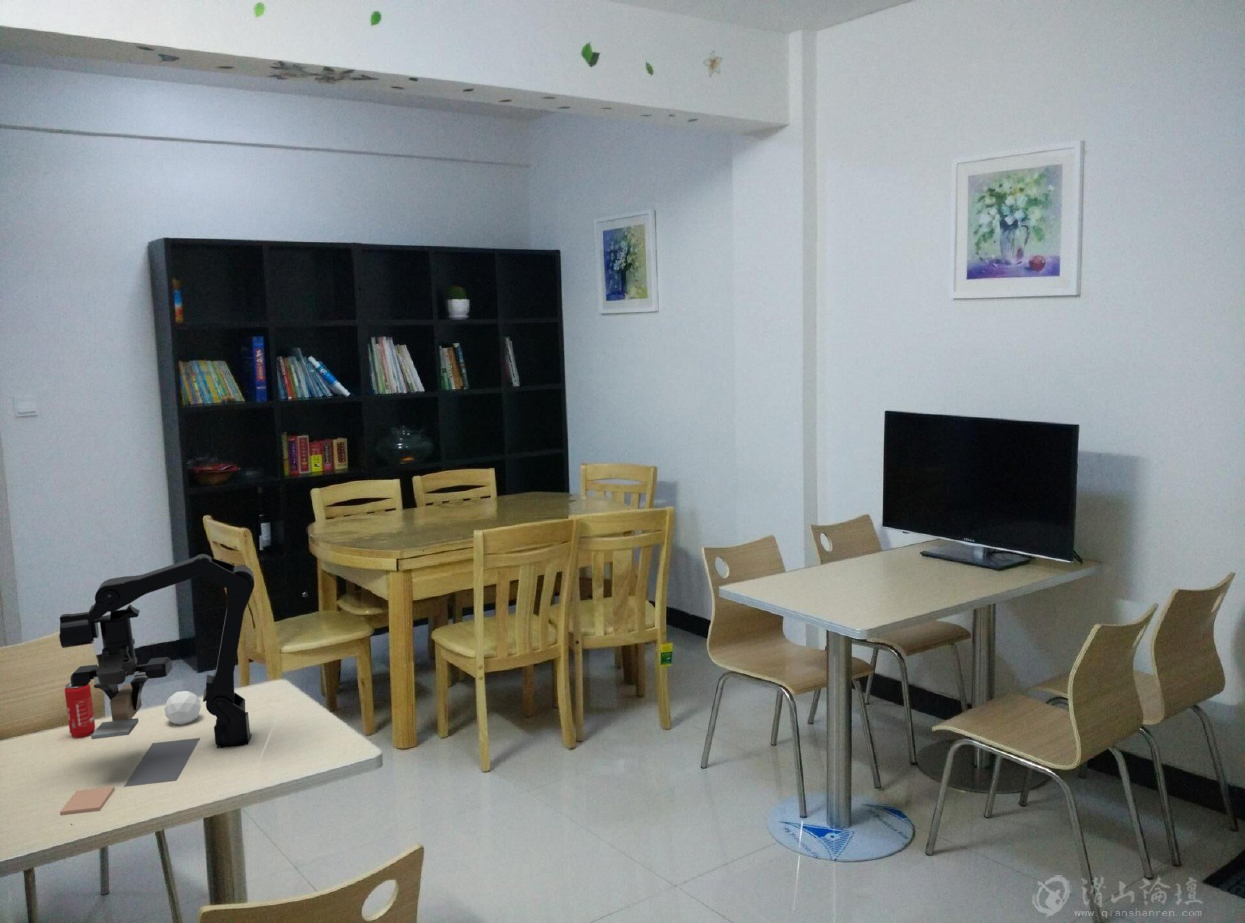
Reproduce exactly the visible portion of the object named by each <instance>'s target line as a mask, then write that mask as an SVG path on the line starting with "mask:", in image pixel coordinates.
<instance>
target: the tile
mask: <svg viewBox="0 0 1245 923" xmlns="http://www.w3.org/2000/svg"><path fill="white" fill-rule="evenodd" d="M115 789H116V788H115V786H104V787H97V788H89V789H88V788H87V789H77V790H75V792H74V793H73V795H72V796H71V797H70V798H69V800H68V801H67V802H66V804H64V806H63V808H61V810H60V816H65V815H73V814H81V813H83V814H84V813H91V812H98V811H99V812H100V811H101V809H103V807H104V805H105V804H106V803H107V802H108V800H109V799H110V797H111V796H112V794H113V793H114V792H115Z"/></svg>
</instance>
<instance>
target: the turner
mask: <svg viewBox="0 0 1245 923" xmlns="http://www.w3.org/2000/svg"><path fill="white" fill-rule="evenodd" d="M141 696H142V695H141ZM141 696H140V700H139V704H138V708H137V710H134V707H133V694H132V686H131V684H124V685H123V686H122V687H121V688H120V689H119V692H118V693H117V694H116V695H115V696H114V698H113V699H112V700H111V701H110V700H109V704H110V705H109V706H110V714H111V720H112V721H104V722H103V721H102V722H101V723H100V724H99V726H98V727H97V728H95V729H94V733H93V734H92V735H90V736H91V740H98V739H105V738H106V739H107V738H115V737H122V736H129V735H130V734H131V732H132V731H133V730H134V729H135V727H136V726H137V725H138V723H139V717H136V718H135V715H136V714H137V713H138V711H139V710H140V709H141V707H142V706H143V704H142V697H141Z"/></svg>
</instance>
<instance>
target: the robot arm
mask: <svg viewBox="0 0 1245 923" xmlns="http://www.w3.org/2000/svg"><path fill="white" fill-rule="evenodd" d="M197 577H202V578H205V579H207V580H209V581H211V582H213V583H214V584H216V585H218V586H220V587H222V588H225V592H226V593H225V600H226V602H225V603H226V611H225V616H224V622H223V623H224V624H223V627H222V628H223V629H222V633H221V640H220V646H219V651H218V652H219V654H218V657H217V664H216V669H215V670H214V673H213V675H212V674H211V675H210V674H206V679H205V680H206V681H205V688H204V690H203V697H202V702H203V703H204V702H205V707H206V710H207V711H208V712H209V714H211V715H212V716H215V717H216V719H215V724H214V727H213V731H214V732H213V733H214V742H215V745H216V749H224V748H233V747H242V746H247V745H249V742H250V741H251V738H252V736H253V733H251V727H250V720H249V712H248V711H246V699H245V698H244V697H242V696H241V695H240V694H238V693H237V692H235V667H236V663H237V658H238V649H239V644H240V639H241V638H240V637H241V632H242V626H243V620H244V615H245V611H246V608H247V607H248V604H249V601H250V599H251V597H252V594H253V591H254V590H255V589H254V588H255V574H254V572H253V570H252V569H251V568H250V567H248V566H246V565H244V564H240V565H234V564H232V563H230V562H227V561H224V560H220V559H217V558H214V557H211V556H210V555H208V554H205V553H201V554H198V555H196V556H195V557H194V556H193V557H191V558H189V559H185V560H182V561H180V562H176V563H173V564H170V565H168V566H163V567H161V568H157V569H156V570H152V571H149V572H145V573H144V574H137V575H127V576H119V577H114V578H108V579H106V580H104V581H103V582H102V583H101V584H100V585H99V587H98V589H97V591H96V593H95V594H94V601H95V603H94V604H92V605H91V606H90V609H89V610H88V611H84V612H79V613H78V612H77V613H76V612H75V613H63V614H61V615H60V617H59V634H58V637H59V643H60V646H61V648H62V649H65V648H73V647H79V646H85V645H86V646H87V645H93V644H94V641H95V639H99V635H100V632H101V640H102V641H101V642H102V647H103V648H102V649H101V661H100V662H99V665H98V664H90V665H81V666H79V667H78V668H77V669H76V670H74V672H73V673H72V674H71V675H70V678H69V679H70V683H71V687H81V686H87V685H88V684H90V683H91V682H92V680H94V685H93V688H94V689H100V690H101V691H103V692H104V694H105V695H106V696H107V697H108V699H109V702H110V701H111V700H112V699H113V698H114V696H115V695H116V694H117V693H118V692H119V691H120V689H119V686H118V685H121V684H123V683H125V682H126V678H127V677H129V676H132V677H133V679H132V680H130V684H129V685H131V686H132V694H133V707H134V710H137V708H138V704H139V700H140V696H142V692H143V688H144V685H145V683H146V682H147V681H149V679H152V680H153V679H159V678H165V677H167V676H168V675H169V673H170V672H171V671H172V669H173V661H172V660H171V658H170V657H168V656H164V657H162V656H161V657H153V658H150V660H149V661H148V662H147V663H144V664H137V663H138V657H136V653H135V652H136V651H135V644H136V642H135V638H134V637H133V630H132V623H131V622H132V621H131V619H133V618H138V617H139V615H140V610H139V609H137V608H136V607H134V606H133V605H132V603H133V602H135V601H137V600H138V599H139V598H141V597H143V596H145V595H147V594H150V593H154V592H156V591H158V590H159V591H160V590H162V589H166V588H168V587H170V586H174V585H176V584H180V583H182V582H186V581H189V580H191V579H195V578H197ZM127 605H128V606H127ZM123 607H126V608H123ZM107 613H109V614H107ZM106 614H107V615H106ZM99 625H100V631H99Z"/></svg>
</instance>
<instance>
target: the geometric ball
mask: <svg viewBox="0 0 1245 923" xmlns="http://www.w3.org/2000/svg"><path fill="white" fill-rule="evenodd" d="M201 707H202V705H201V700H200V699H199V697H198V695H196V694H195V693H193V692H192V691H189V690H185V691H184V690H183V691H176V692H174V693H173V694H172V695H171V696H170V697H168V698H167V701H166V703H165V706H164V712H165V713H164V715H165V717H166V718H167V719H168V720H169V721H170V723H172V724H175V725H180V726H183V725H186V724H189V723H192V722H194V721H195V720H196V719H197V718H198V717H199V714H200V711H201Z"/></svg>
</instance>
